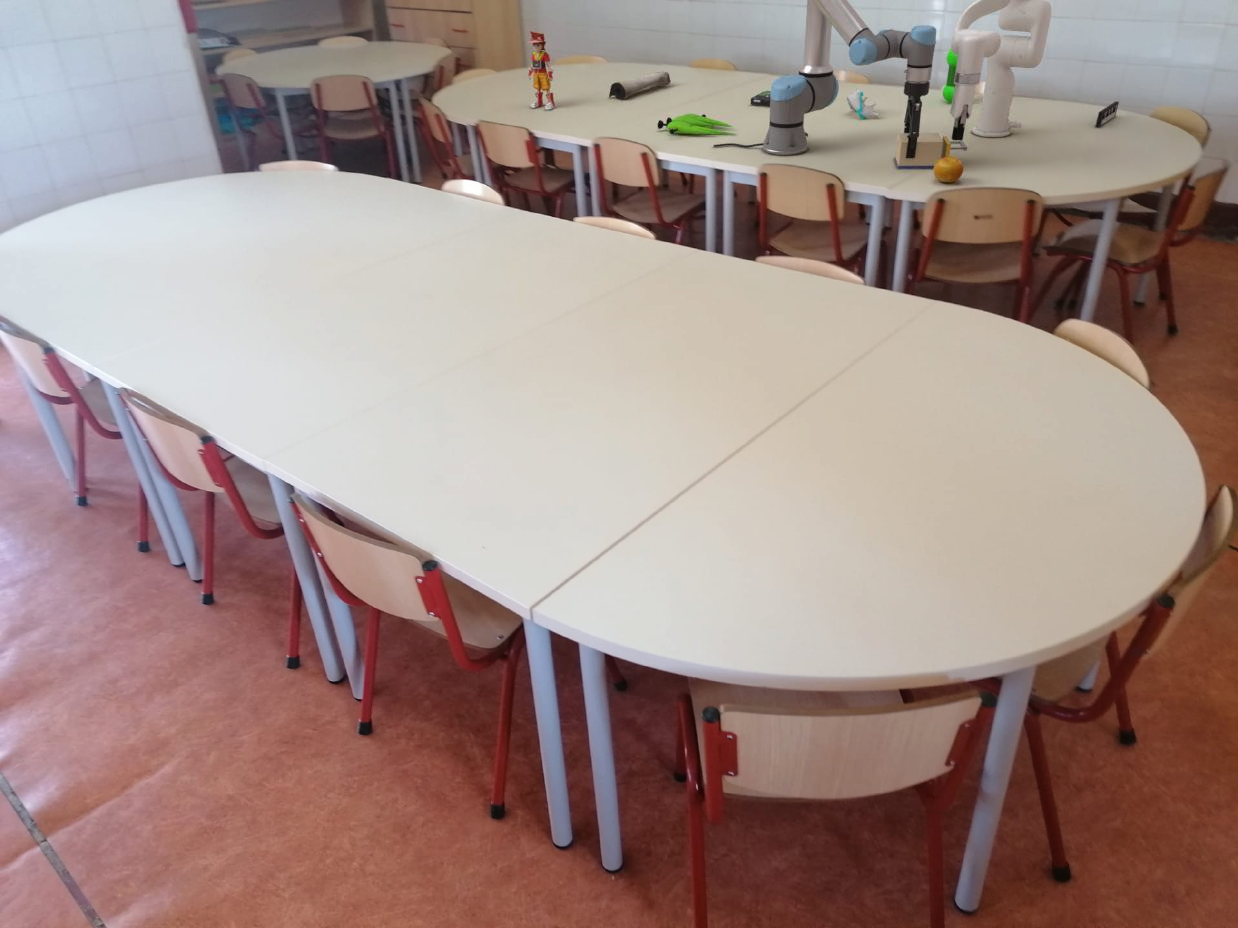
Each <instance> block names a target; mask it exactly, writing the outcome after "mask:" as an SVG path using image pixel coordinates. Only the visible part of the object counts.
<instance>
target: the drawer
mask: <svg viewBox="0 0 1238 928" xmlns="http://www.w3.org/2000/svg"><path fill="white" fill-rule="evenodd" d="M941 139H942V141H943V147H942V153H941V159H942V158H945V157H950V154H951V151H953V150H954V151H955V150H957V151H959V150H963V151H964V152H966V151H967V150H968V147H967V144H966V143H965V141H964V139H963V140H952V141H950V139H949V138H948V136H947V135H942V138H941ZM952 145H960V146H954V147H953V146H952Z"/></svg>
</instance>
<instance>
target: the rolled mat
mask: <svg viewBox="0 0 1238 928" xmlns="http://www.w3.org/2000/svg"><path fill="white" fill-rule="evenodd" d="M671 83H672V81H671V77H670V74H669V72H668V71H658V72H654V73H649V74H645V75H640V76H637V77H633V78H628V79H623V80H620V81H616V82H613V83H612V84H611V85H610V89H609V95H608V97H609V98H611V97H616V99H620V100H622V101H623V100H626V99H627V98H629V97H630V96H632V95H635V94H636V93H638V92H640V91H643V90H644V89H647V88H650V87H655V86H658V87H659V86H661V87H665V86H669V85H670V84H671Z"/></svg>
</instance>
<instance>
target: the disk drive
mask: <svg viewBox="0 0 1238 928" xmlns="http://www.w3.org/2000/svg"><path fill="white" fill-rule="evenodd" d="M770 92H771V90H764V91H762V92H760V93H757V94H756V95H754V96H752V97H751V98H750V105H752V106H753V105H754V106H762V107H770Z"/></svg>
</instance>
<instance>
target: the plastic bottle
mask: <svg viewBox="0 0 1238 928" xmlns="http://www.w3.org/2000/svg"><path fill="white" fill-rule="evenodd" d="M957 59H958V55H955V54H954V53H953V52H952V50H951V48H950V49H949V50H948V52H947V54H946V63H947V64H948V69H947V70H948V71H947V76H946V77H947V78H946V84H945V85H944V87H943V90H942V97H943V99H944V100H945V101H946V102H947V103H948V104H952V99H953V94H954V90H955V85H956V84H954V78H955V72H956V65H957Z"/></svg>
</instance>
